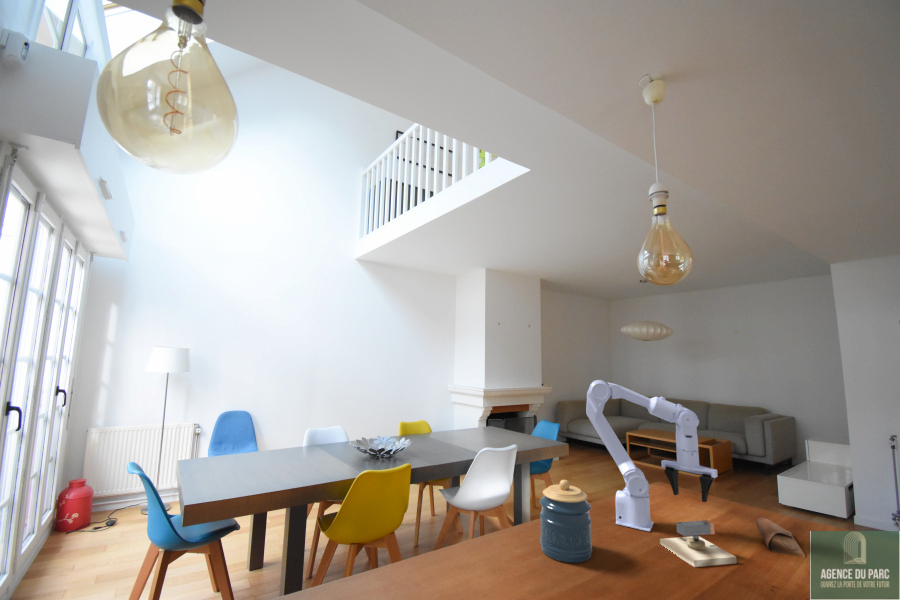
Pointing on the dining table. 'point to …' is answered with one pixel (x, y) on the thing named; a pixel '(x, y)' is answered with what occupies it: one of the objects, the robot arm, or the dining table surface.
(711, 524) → the dark rectangular block
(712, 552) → the base plate
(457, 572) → the dining table surface
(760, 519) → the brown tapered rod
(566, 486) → the canister
